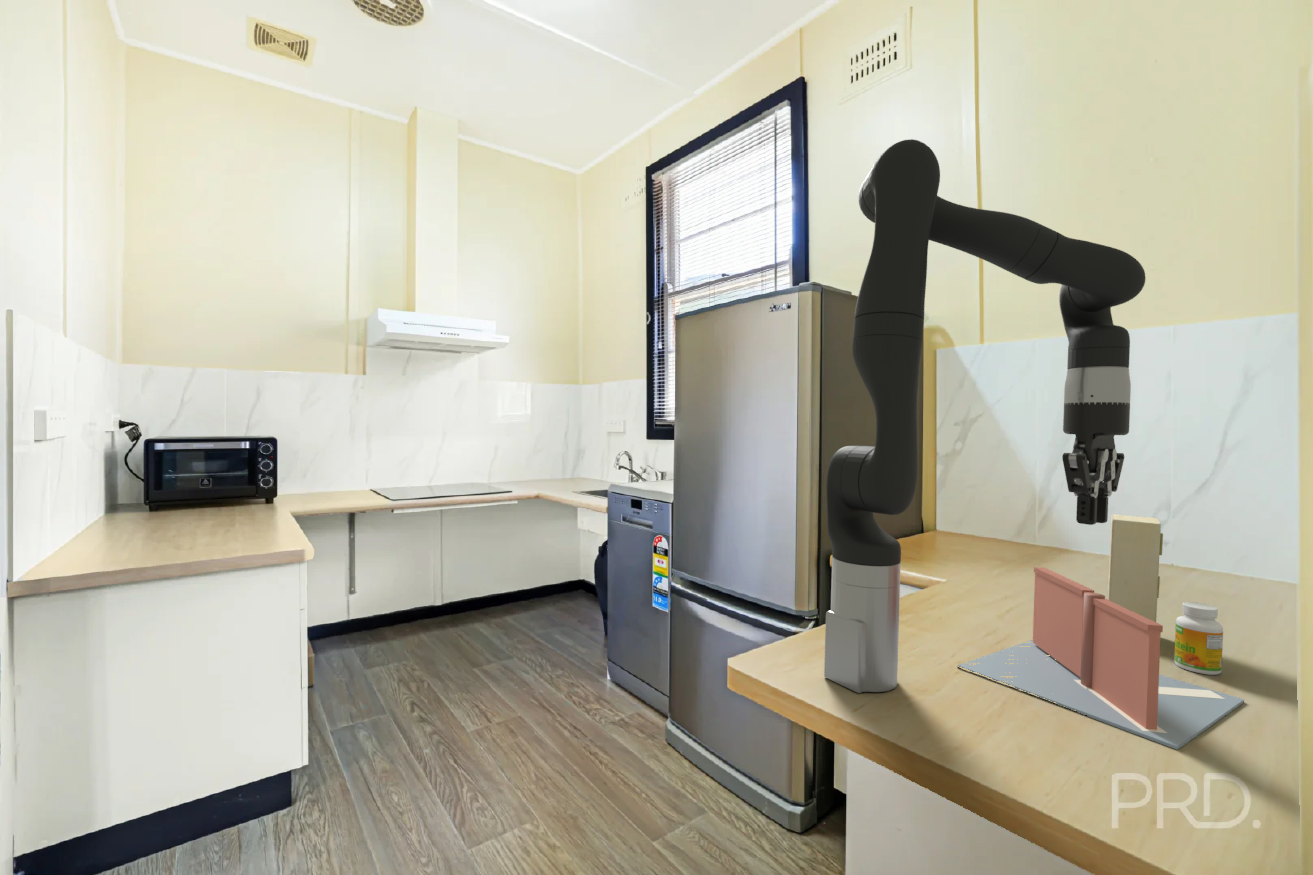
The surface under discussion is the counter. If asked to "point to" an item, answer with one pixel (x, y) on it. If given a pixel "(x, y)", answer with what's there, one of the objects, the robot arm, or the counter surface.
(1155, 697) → the bar
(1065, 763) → the counter surface
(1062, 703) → the card
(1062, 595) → the panel
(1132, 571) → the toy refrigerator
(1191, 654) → the supplement bottle
